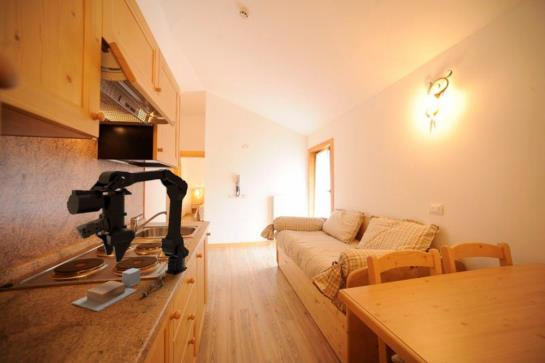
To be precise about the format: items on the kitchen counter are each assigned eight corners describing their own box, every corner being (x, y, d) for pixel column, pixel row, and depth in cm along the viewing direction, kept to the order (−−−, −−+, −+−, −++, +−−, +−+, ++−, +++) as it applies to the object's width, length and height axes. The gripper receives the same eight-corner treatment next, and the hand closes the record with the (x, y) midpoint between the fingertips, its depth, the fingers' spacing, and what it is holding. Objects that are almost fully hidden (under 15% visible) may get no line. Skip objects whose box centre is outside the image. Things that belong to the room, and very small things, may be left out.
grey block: (132, 280, 78) (132, 268, 78) (139, 282, 76) (140, 269, 76) (121, 285, 74) (122, 272, 74) (129, 287, 73) (129, 273, 73)
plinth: (110, 288, 71) (110, 280, 71) (124, 292, 68) (125, 283, 69) (87, 299, 64) (87, 290, 64) (101, 304, 62) (102, 294, 62)
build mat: (113, 285, 74) (113, 284, 74) (137, 291, 70) (137, 290, 70) (72, 303, 62) (72, 302, 62) (98, 311, 59) (98, 310, 59)
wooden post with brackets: (167, 282, 75) (163, 273, 73) (149, 302, 68) (144, 292, 66) (163, 281, 75) (159, 272, 74) (145, 301, 68) (140, 291, 67)
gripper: (72, 210, 63) (72, 259, 63) (87, 216, 52) (87, 276, 52) (115, 206, 72) (115, 249, 72) (136, 211, 61) (136, 262, 61)
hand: (113, 258), depth 64 cm, fingers open, 9 cm apart
